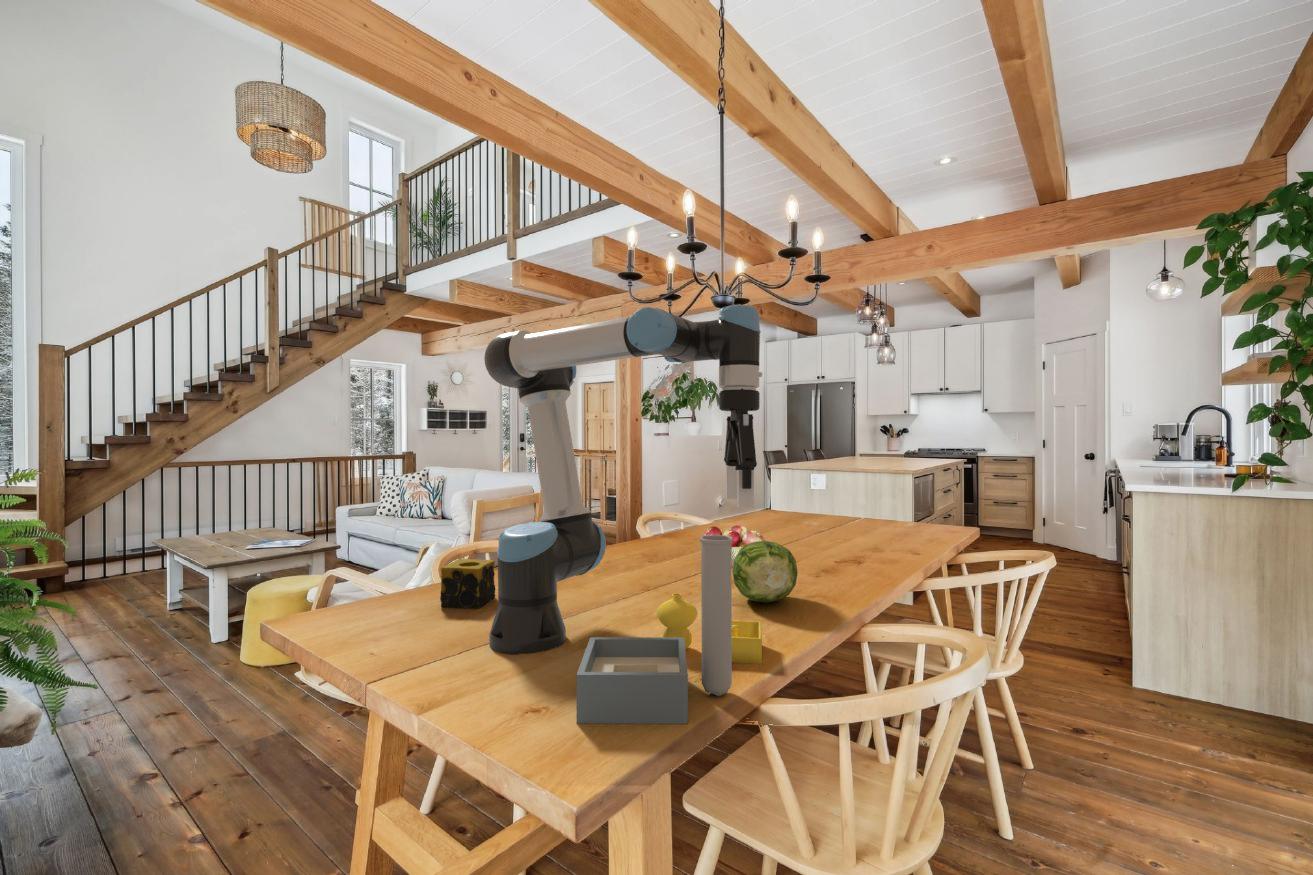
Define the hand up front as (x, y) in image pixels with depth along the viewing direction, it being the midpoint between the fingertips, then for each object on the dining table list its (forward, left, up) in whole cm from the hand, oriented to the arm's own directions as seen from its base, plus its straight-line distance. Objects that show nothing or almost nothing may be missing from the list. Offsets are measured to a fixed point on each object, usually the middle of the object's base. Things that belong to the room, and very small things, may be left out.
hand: (738, 503), depth 112 cm
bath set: (-6, +2, -29) cm, 30 cm away
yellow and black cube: (-63, +35, -29) cm, 77 cm away
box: (-19, -19, -29) cm, 39 cm away
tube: (-6, -17, -29) cm, 34 cm away
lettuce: (+11, +34, -29) cm, 46 cm away
